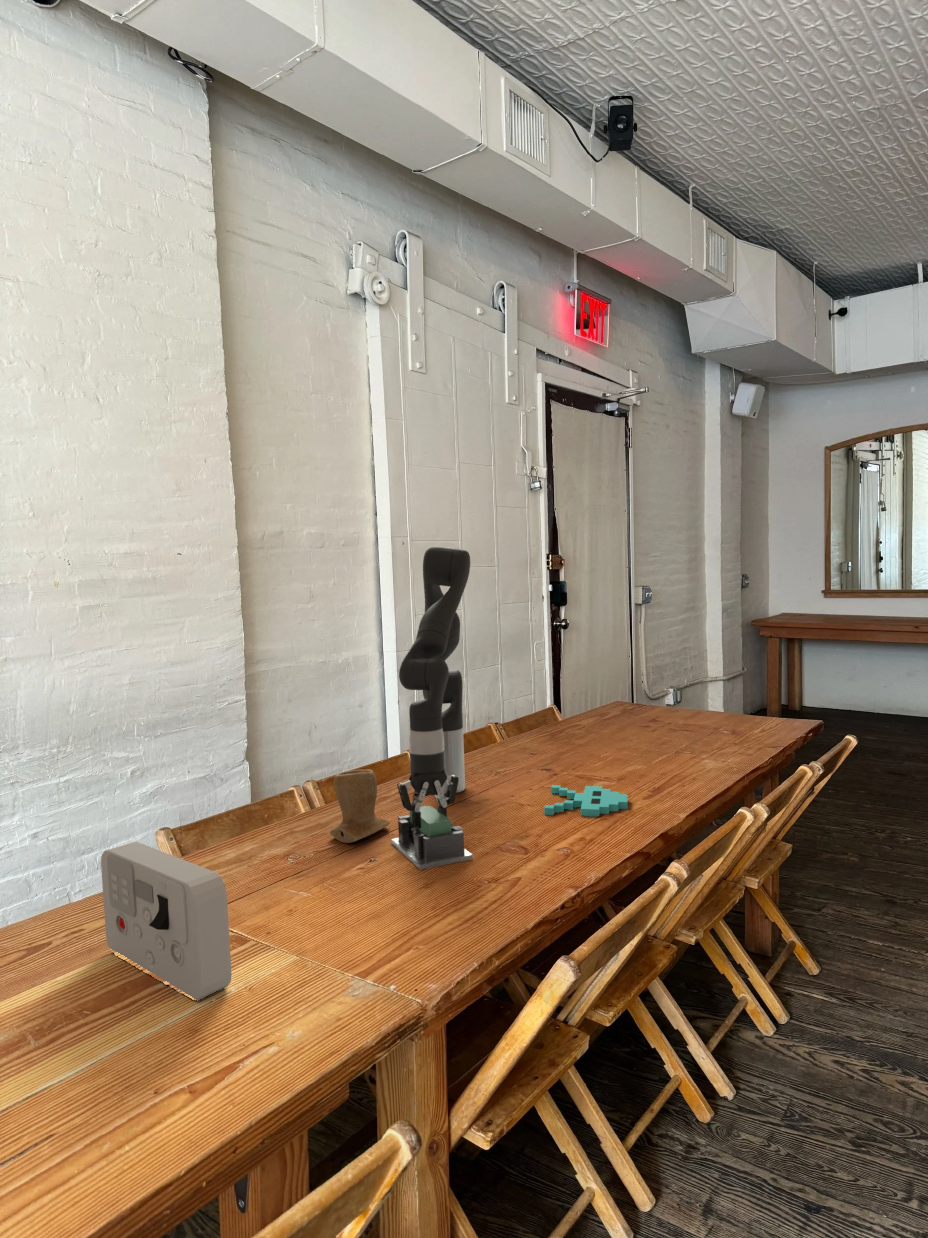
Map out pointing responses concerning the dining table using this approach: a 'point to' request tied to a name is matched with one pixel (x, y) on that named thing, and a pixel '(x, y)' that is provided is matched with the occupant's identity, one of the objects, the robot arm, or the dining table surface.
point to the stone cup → (357, 805)
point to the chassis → (430, 845)
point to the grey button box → (167, 917)
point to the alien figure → (588, 801)
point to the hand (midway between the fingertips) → (429, 825)
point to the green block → (433, 821)
